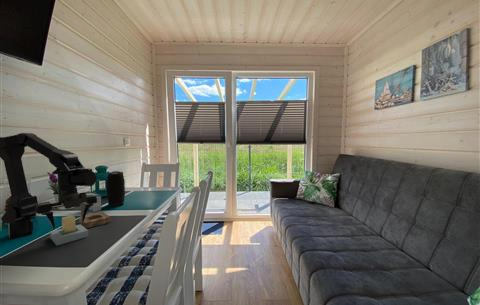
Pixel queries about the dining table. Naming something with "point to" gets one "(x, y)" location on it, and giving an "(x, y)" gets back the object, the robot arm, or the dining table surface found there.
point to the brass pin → (68, 225)
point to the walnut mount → (95, 220)
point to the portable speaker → (115, 188)
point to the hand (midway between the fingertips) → (68, 224)
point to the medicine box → (96, 205)
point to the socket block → (68, 235)
